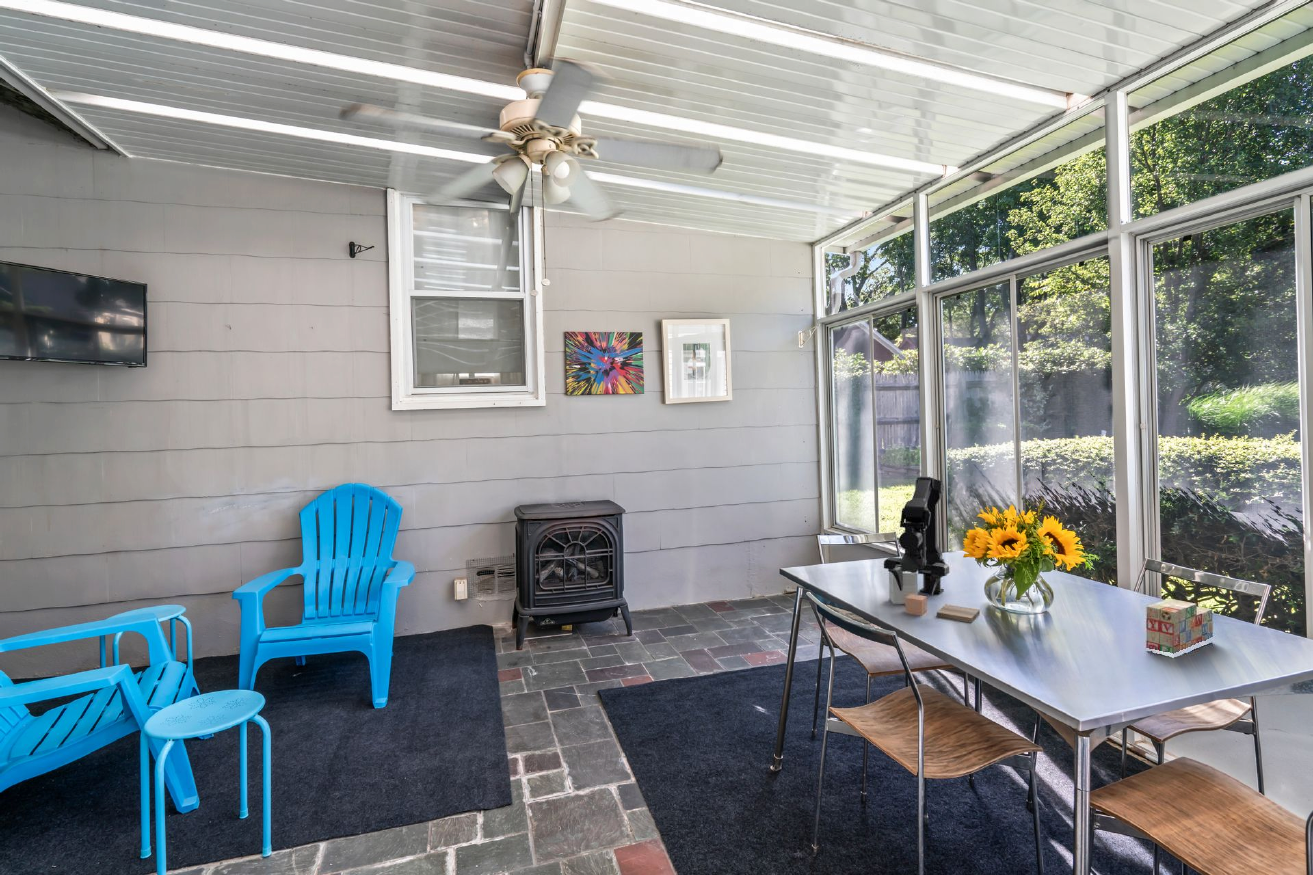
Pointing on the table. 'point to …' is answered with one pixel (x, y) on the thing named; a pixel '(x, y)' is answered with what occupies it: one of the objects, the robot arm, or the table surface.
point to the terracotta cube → (916, 604)
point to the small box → (908, 587)
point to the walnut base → (958, 613)
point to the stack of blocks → (1177, 625)
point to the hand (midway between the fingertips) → (916, 593)
